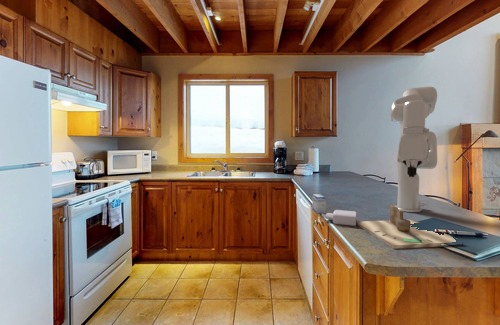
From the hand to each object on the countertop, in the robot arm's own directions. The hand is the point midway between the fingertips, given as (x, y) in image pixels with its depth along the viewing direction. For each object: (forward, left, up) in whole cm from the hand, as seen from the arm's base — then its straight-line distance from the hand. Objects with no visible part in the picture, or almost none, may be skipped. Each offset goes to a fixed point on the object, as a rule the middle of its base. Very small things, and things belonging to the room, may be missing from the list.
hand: (411, 176), depth 105 cm
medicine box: (+29, -30, -22) cm, 47 cm away
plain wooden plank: (+7, +6, -20) cm, 22 cm away
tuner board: (+7, +5, -22) cm, 23 cm away
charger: (+25, -13, -22) cm, 36 cm away
